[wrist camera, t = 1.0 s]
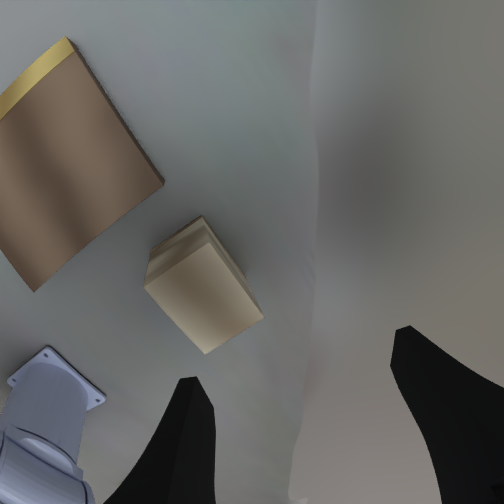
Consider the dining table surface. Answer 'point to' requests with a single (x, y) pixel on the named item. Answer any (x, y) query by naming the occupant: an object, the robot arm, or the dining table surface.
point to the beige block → (201, 286)
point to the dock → (63, 164)
